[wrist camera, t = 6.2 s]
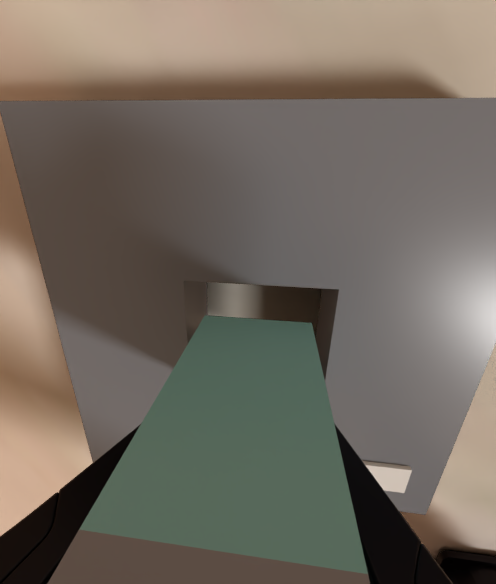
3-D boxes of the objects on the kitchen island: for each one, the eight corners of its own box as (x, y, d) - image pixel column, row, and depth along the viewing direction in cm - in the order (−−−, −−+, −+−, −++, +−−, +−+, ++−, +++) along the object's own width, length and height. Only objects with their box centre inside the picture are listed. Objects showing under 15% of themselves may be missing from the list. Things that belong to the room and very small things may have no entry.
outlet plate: (500, 123, 11) (603, 95, 7) (398, 452, 17) (427, 518, 14) (71, 123, 12) (-9, 99, 9) (127, 422, 19) (93, 475, 16)
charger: (311, 322, 10) (398, 710, 3) (301, 408, 11) (338, 810, 4) (204, 315, 10) (17, 635, 3) (208, 398, 12) (86, 752, 4)
